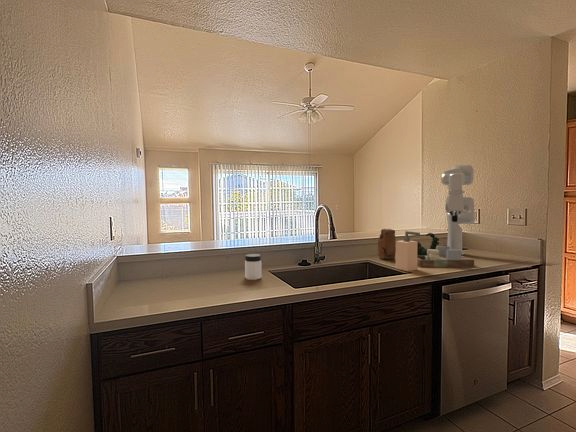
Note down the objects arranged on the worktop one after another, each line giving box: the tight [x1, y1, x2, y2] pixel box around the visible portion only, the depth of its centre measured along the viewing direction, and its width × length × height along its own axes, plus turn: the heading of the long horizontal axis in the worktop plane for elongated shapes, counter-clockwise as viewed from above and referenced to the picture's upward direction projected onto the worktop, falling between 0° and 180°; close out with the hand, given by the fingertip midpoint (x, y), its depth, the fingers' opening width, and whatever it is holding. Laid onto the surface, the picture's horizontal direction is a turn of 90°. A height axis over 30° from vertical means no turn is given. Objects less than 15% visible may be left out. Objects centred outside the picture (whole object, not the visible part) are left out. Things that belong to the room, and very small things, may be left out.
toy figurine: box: [416, 232, 440, 256], centre depth 221 cm, size 9×19×25 cm
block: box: [377, 228, 397, 260], centre depth 217 cm, size 11×8×20 cm
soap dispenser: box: [394, 230, 421, 272], centre depth 184 cm, size 13×9×22 cm
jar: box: [244, 253, 263, 281], centre depth 168 cm, size 9×8×12 cm
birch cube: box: [426, 248, 439, 259], centre depth 198 cm, size 5×5×5 cm
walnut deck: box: [417, 255, 475, 268], centre depth 199 cm, size 15×32×4 cm, turn 90°
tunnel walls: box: [436, 245, 462, 260], centre depth 199 cm, size 15×8×6 cm, turn 0°
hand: (454, 221), depth 205 cm, fingers closed
